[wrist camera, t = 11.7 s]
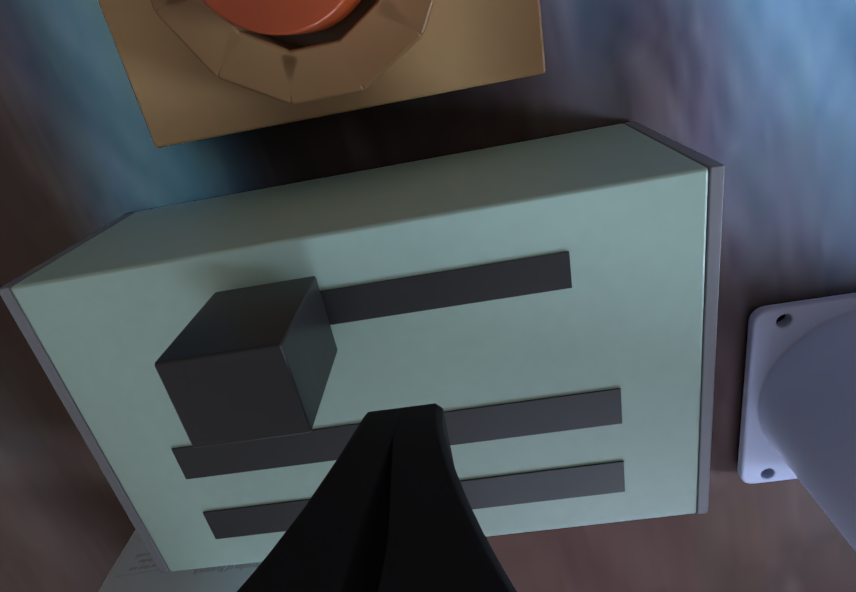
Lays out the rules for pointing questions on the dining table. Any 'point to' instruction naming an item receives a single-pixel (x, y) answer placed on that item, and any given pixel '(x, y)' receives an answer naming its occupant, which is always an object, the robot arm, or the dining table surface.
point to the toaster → (416, 335)
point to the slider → (251, 364)
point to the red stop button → (283, 14)
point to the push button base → (312, 60)
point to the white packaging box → (170, 574)
